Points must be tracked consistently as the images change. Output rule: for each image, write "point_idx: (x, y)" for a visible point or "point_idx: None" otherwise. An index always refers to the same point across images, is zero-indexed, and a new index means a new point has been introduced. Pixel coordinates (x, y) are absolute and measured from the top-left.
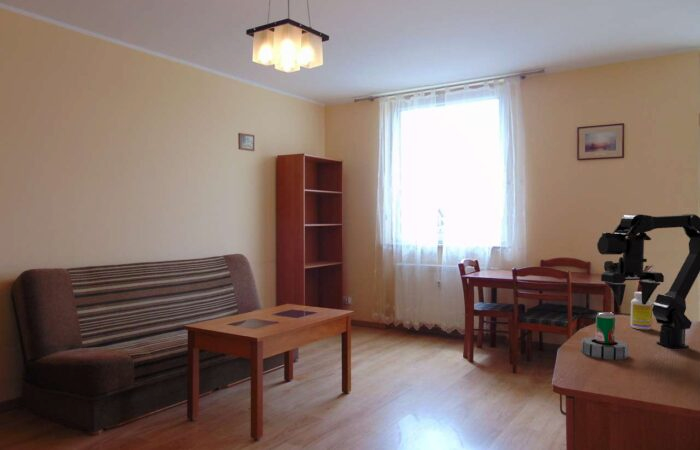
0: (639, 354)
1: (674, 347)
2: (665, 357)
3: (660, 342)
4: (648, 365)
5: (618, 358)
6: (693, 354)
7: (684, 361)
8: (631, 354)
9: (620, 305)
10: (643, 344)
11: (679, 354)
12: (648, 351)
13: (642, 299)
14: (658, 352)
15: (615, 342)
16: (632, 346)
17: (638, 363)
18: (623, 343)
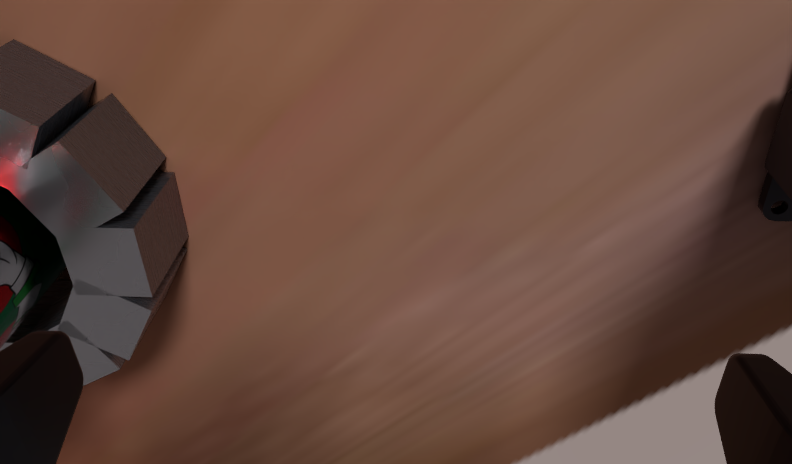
0: (304, 268)
1: (773, 219)
2: (438, 357)
3: (787, 102)
4: (186, 437)
5: None
6: (730, 352)
7: (482, 435)
8: (239, 255)
9: (69, 382)
10: (644, 6)
11: (622, 330)
12: (451, 221)
13: (777, 444)
14: (510, 259)
15: (71, 270)
16: (448, 52)
17: (149, 402)
18: (113, 326)
